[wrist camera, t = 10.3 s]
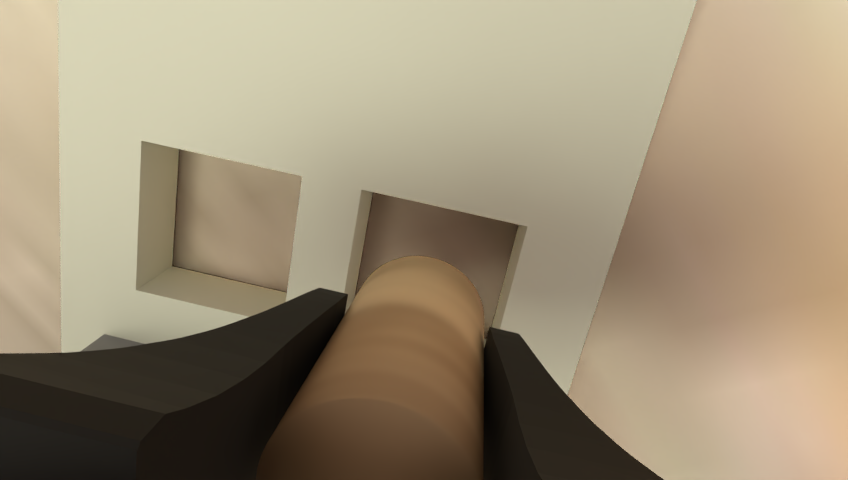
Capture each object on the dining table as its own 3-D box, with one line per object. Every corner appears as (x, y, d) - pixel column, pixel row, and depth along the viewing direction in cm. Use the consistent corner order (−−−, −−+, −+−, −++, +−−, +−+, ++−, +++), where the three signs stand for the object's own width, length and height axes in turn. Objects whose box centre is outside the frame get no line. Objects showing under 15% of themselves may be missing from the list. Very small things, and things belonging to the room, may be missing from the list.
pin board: (500, 544, 20) (504, 692, 16) (100, 445, 21) (-13, 559, 16) (695, -75, 14) (801, -141, 9) (111, -190, 15) (-70, -309, 10)
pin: (452, 395, 14) (427, 624, 8) (336, 345, 14) (227, 539, 8) (506, 288, 13) (523, 457, 7) (383, 234, 13) (299, 360, 7)
